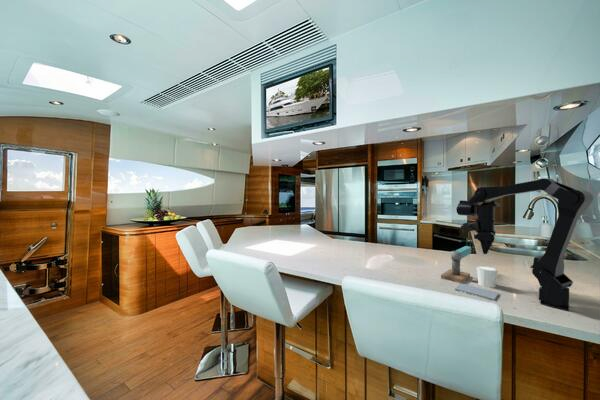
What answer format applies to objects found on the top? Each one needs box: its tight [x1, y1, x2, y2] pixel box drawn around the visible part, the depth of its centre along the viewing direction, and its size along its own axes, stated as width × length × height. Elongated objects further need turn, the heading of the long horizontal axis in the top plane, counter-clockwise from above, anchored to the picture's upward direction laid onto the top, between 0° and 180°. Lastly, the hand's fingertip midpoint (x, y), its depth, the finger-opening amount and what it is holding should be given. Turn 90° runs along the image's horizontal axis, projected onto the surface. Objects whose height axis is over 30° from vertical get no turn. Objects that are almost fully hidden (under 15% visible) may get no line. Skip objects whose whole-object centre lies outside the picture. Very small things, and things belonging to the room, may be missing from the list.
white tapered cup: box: [476, 265, 499, 289], centre depth 96 cm, size 7×7×7 cm
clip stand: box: [440, 259, 471, 284], centre depth 104 cm, size 8×12×8 cm, turn 131°
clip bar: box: [450, 245, 472, 262], centre depth 109 cm, size 20×4×3 cm, turn 130°
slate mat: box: [454, 283, 499, 302], centre depth 89 cm, size 12×8×1 cm, turn 41°
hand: (485, 253), depth 98 cm, fingers closed
